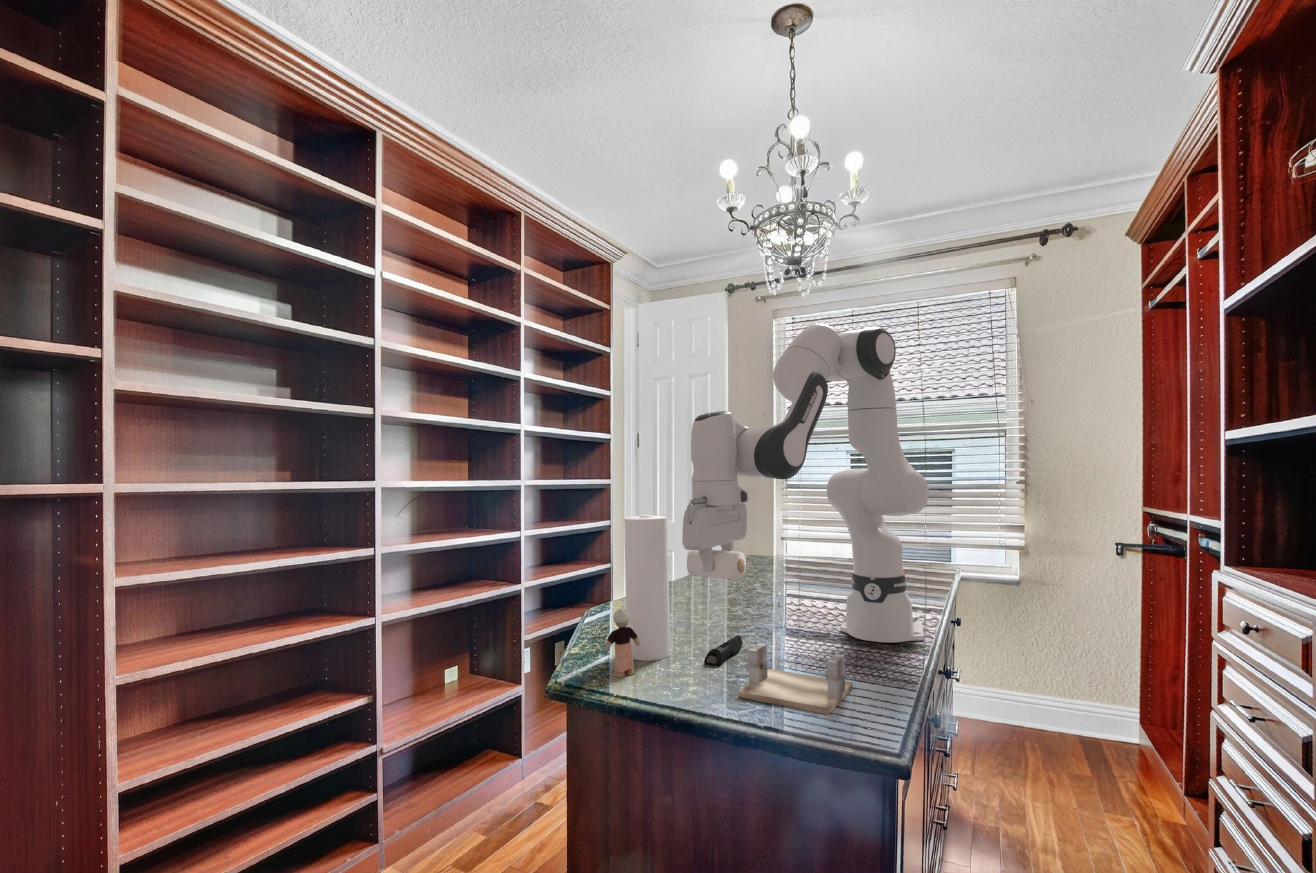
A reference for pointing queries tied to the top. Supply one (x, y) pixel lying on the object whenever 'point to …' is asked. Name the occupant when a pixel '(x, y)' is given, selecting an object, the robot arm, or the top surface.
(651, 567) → the cylinder container
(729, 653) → the electric trimmer
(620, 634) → the grandmother figurine
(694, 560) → the paper roll
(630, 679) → the top surface
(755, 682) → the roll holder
